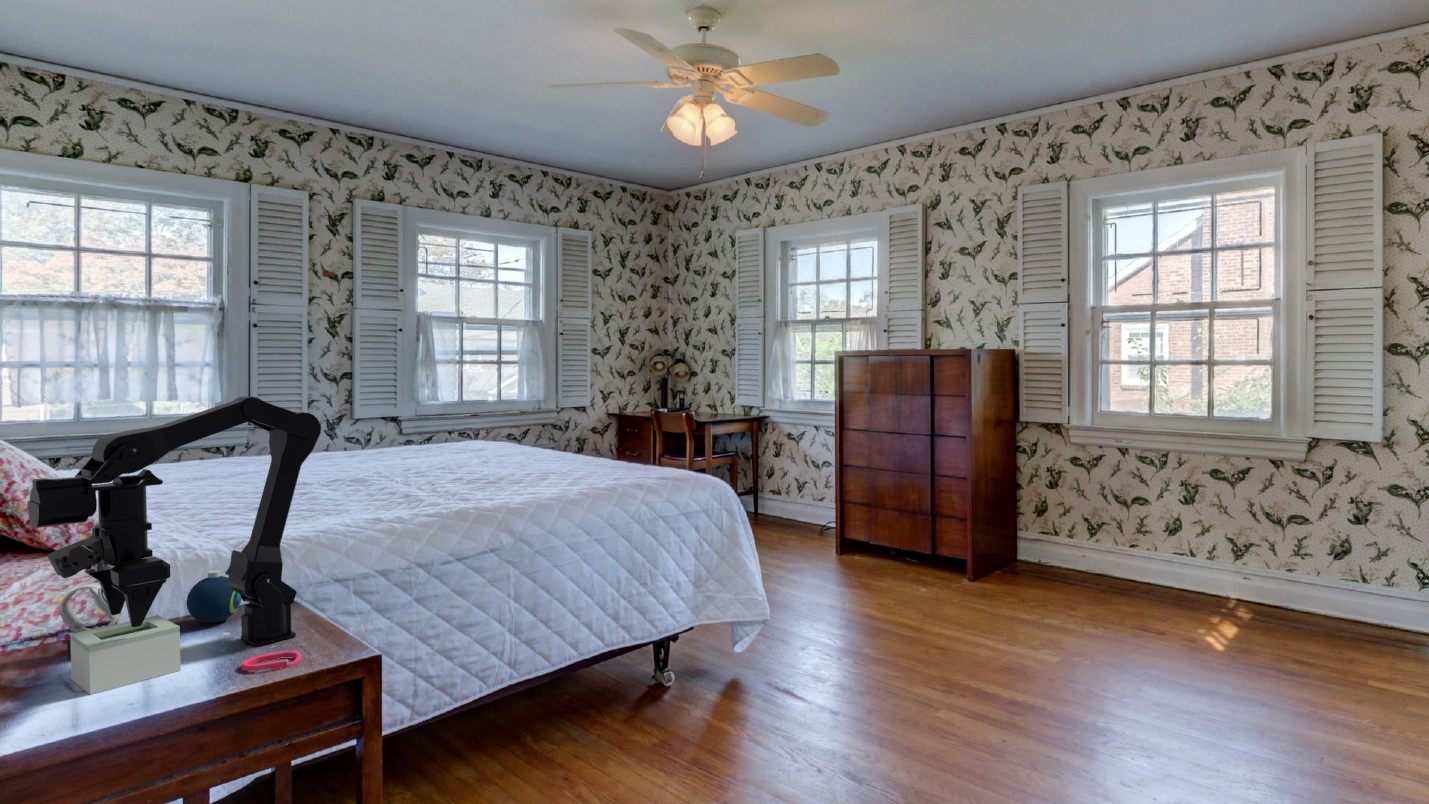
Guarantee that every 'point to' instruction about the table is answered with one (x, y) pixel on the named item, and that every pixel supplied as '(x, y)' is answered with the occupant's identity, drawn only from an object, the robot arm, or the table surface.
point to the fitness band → (271, 666)
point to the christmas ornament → (212, 599)
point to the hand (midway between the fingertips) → (125, 620)
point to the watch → (72, 619)
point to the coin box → (124, 654)
